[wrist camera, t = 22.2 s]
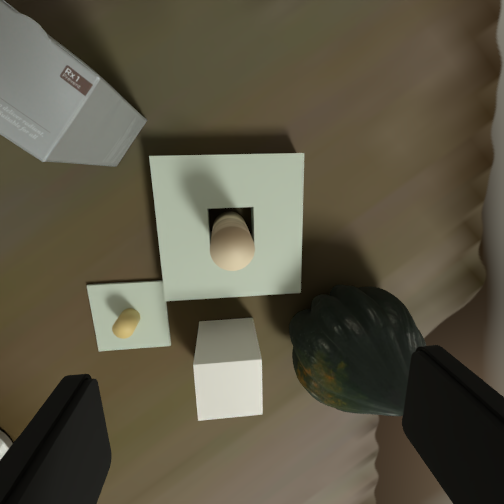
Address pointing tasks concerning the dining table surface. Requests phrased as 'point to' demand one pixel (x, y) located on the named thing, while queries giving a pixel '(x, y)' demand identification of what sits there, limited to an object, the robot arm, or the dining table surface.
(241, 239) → the peg
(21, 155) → the dining table surface
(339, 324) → the squash
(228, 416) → the block
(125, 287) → the tile
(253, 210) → the peg board
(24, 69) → the skincare box
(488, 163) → the dining table surface
